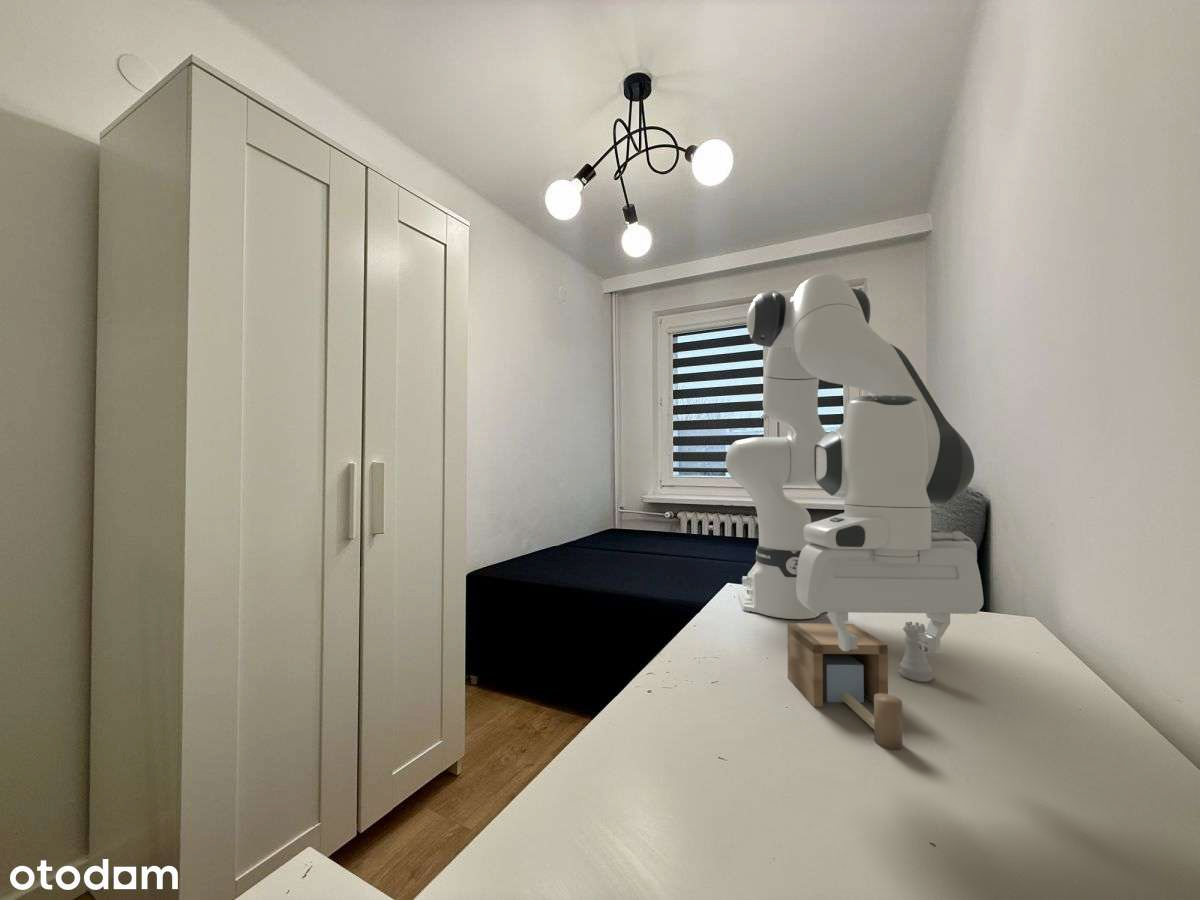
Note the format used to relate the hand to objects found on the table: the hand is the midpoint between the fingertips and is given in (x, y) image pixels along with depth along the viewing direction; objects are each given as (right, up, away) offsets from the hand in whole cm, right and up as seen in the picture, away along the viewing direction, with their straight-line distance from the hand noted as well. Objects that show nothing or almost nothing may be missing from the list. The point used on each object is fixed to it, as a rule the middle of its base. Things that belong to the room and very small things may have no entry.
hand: (888, 650), depth 57 cm
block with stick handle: (0, -11, +7) cm, 13 cm away
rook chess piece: (+15, -12, +18) cm, 26 cm away
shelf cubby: (0, -11, +12) cm, 17 cm away
